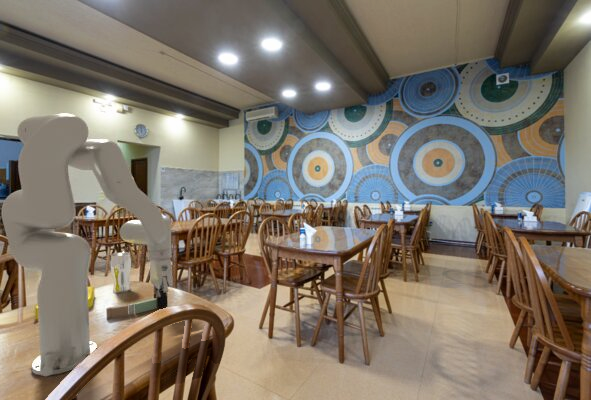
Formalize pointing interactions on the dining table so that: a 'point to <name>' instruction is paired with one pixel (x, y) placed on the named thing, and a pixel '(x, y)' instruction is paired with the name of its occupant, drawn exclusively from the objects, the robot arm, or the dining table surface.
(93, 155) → the robot arm
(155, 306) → the hinged panel
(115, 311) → the flat brown box
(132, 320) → the dining table surface
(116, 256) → the beer glass
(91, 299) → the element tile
